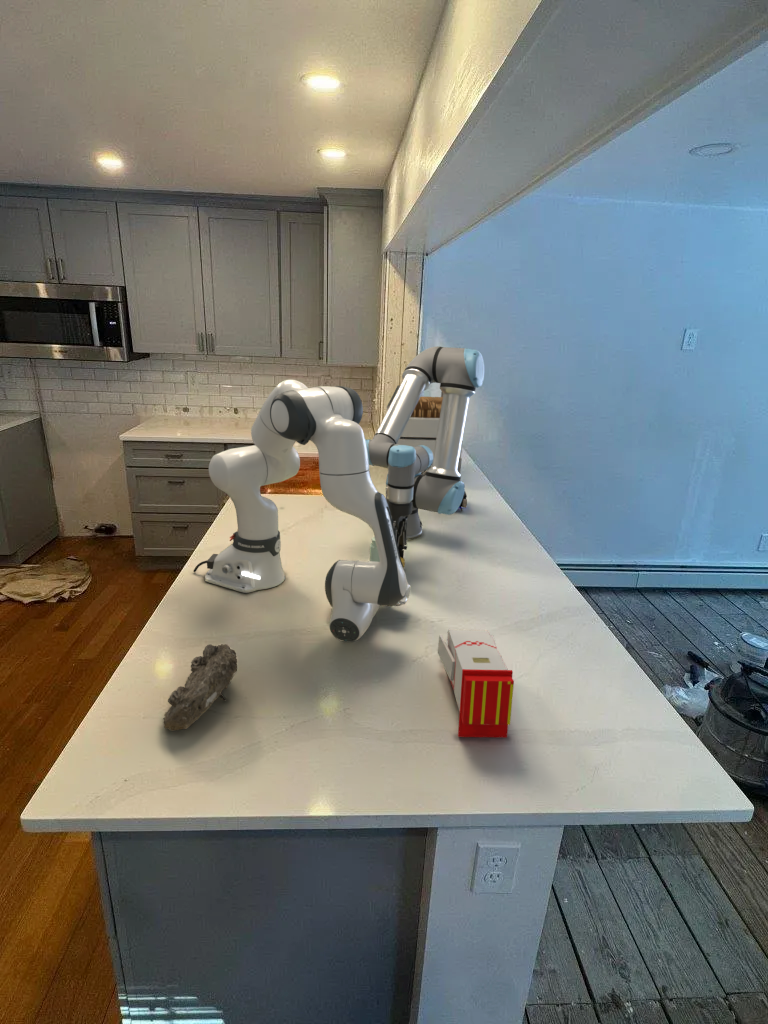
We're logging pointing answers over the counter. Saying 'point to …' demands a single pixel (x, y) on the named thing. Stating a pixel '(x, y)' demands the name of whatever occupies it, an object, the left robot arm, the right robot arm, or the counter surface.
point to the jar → (374, 551)
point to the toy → (478, 682)
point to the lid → (403, 561)
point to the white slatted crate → (423, 424)
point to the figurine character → (463, 502)
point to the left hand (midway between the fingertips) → (378, 575)
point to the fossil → (201, 686)
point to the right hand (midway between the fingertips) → (395, 573)
